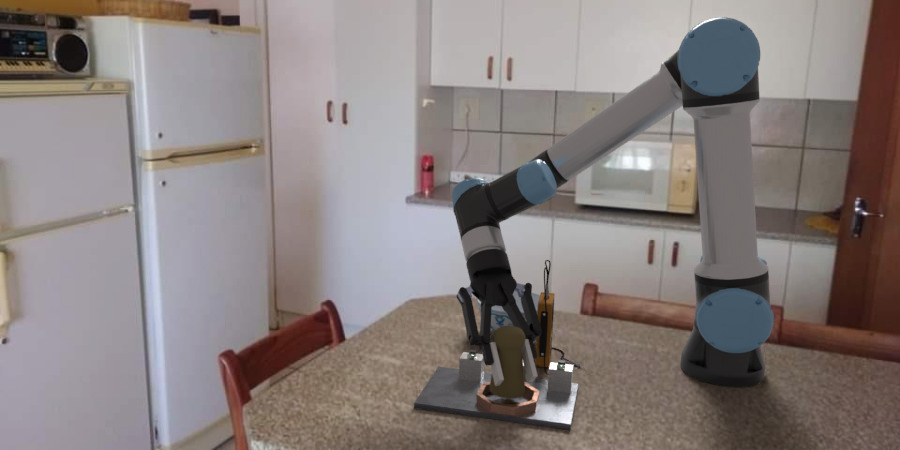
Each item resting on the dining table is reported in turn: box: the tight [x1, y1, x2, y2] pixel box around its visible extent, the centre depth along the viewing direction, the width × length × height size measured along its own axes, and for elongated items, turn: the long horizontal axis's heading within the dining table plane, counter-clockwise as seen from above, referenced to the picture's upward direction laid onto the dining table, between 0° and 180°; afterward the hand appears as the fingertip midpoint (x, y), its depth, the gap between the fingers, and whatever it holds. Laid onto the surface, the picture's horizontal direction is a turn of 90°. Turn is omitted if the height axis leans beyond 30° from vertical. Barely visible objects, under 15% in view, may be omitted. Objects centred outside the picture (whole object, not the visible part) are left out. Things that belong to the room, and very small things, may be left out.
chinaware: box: [476, 290, 540, 332], centre depth 154 cm, size 15×15×8 cm
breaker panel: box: [413, 349, 579, 431], centre depth 124 cm, size 26×16×6 cm, turn 76°
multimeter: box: [534, 259, 588, 376], centre depth 138 cm, size 15×10×20 cm
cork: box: [489, 326, 525, 398], centre depth 120 cm, size 6×6×11 cm
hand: (516, 380), depth 117 cm, fingers closed on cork, 5 cm apart
